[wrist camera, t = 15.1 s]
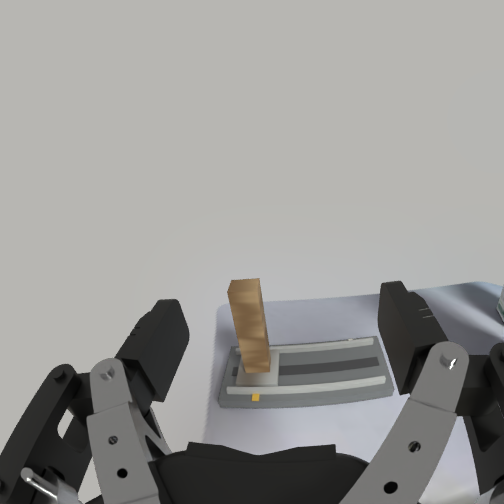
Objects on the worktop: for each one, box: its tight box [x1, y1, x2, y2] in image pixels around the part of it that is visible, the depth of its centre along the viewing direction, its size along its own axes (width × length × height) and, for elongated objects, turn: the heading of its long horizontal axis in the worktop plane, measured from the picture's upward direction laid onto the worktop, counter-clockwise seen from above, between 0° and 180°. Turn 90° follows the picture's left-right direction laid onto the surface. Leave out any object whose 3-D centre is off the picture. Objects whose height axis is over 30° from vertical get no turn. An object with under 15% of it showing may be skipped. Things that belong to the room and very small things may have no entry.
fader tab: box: [227, 278, 280, 387], centre depth 31 cm, size 5×6×13 cm
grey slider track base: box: [218, 336, 394, 408], centre depth 33 cm, size 21×10×2 cm, turn 84°
